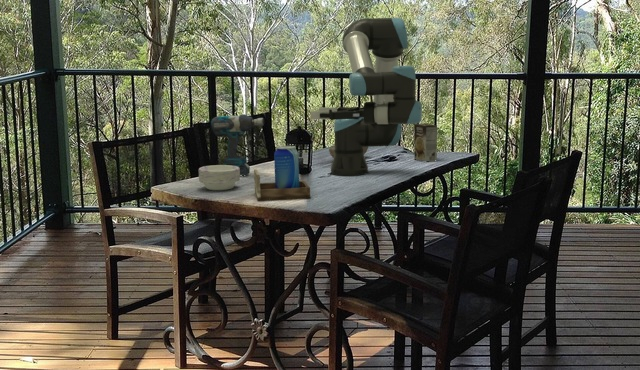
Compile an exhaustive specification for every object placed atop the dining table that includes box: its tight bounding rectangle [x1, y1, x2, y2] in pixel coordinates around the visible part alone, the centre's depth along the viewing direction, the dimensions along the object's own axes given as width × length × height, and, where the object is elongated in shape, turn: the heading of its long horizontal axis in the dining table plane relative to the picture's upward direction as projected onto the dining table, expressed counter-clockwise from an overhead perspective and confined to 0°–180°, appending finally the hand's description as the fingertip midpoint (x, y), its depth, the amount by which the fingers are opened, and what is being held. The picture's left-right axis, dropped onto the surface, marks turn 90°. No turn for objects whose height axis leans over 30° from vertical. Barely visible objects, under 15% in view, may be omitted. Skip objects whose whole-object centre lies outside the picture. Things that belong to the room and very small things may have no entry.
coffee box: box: [413, 123, 438, 162], centre depth 348 cm, size 9×6×16 cm
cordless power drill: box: [210, 113, 265, 177], centre depth 320 cm, size 8×23×25 cm, turn 78°
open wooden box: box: [253, 168, 311, 202], centre depth 274 cm, size 18×14×9 cm
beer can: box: [273, 145, 300, 189], centre depth 273 cm, size 8×8×16 cm
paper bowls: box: [198, 164, 241, 191], centre depth 293 cm, size 15×15×8 cm
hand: (314, 113), depth 271 cm, fingers open, 13 cm apart
